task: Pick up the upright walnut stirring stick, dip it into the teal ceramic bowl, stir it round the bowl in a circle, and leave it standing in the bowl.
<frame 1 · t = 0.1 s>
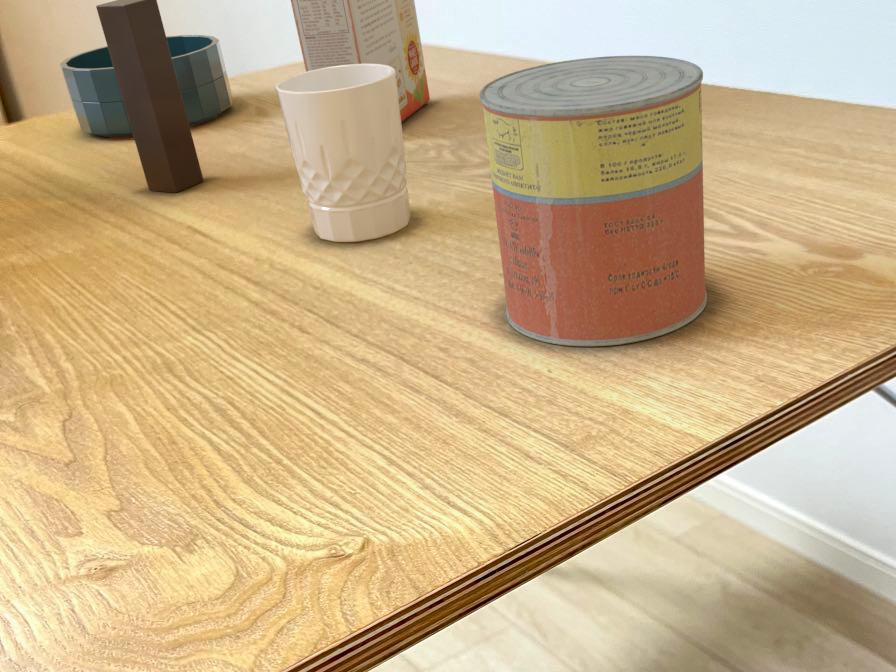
bowl: (158, 119, 116), on the table
canned food: (606, 307, 64), on the table
cracker box: (377, 125, 106), on the table
white cup: (364, 229, 80), on the table
stick: (176, 185, 94), on the table
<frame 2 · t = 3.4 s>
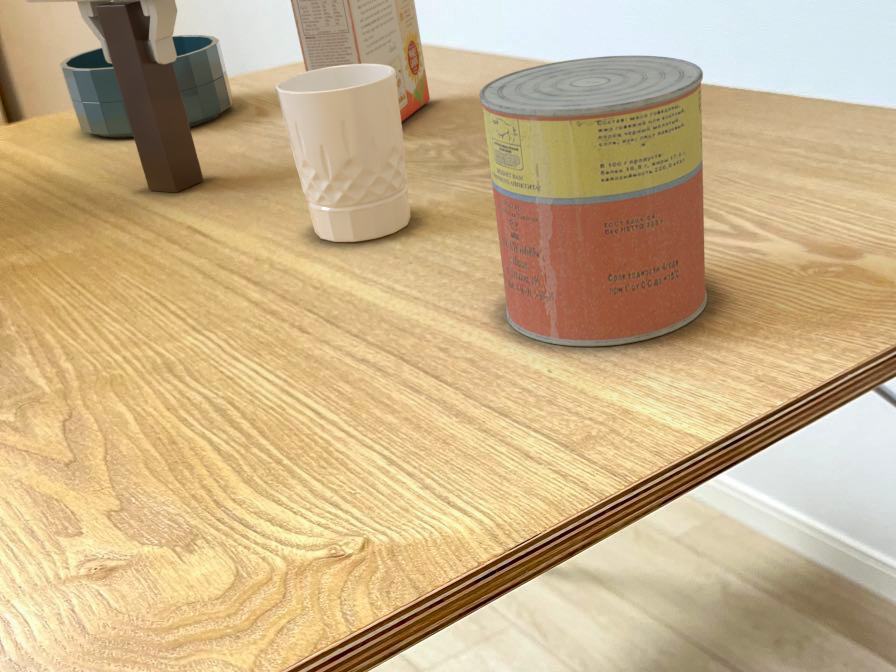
hand: (142, 62, 89), 10 cm above the table, tool pointing down, fingers closed on stick, 3 cm apart
stick: (176, 185, 94), on the table, touching gripper
everything else where it was.
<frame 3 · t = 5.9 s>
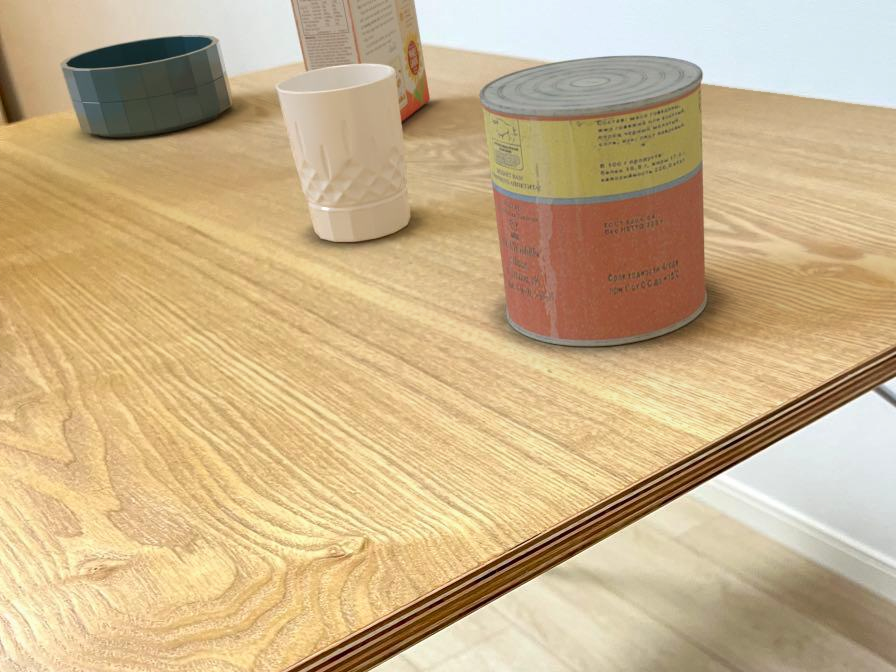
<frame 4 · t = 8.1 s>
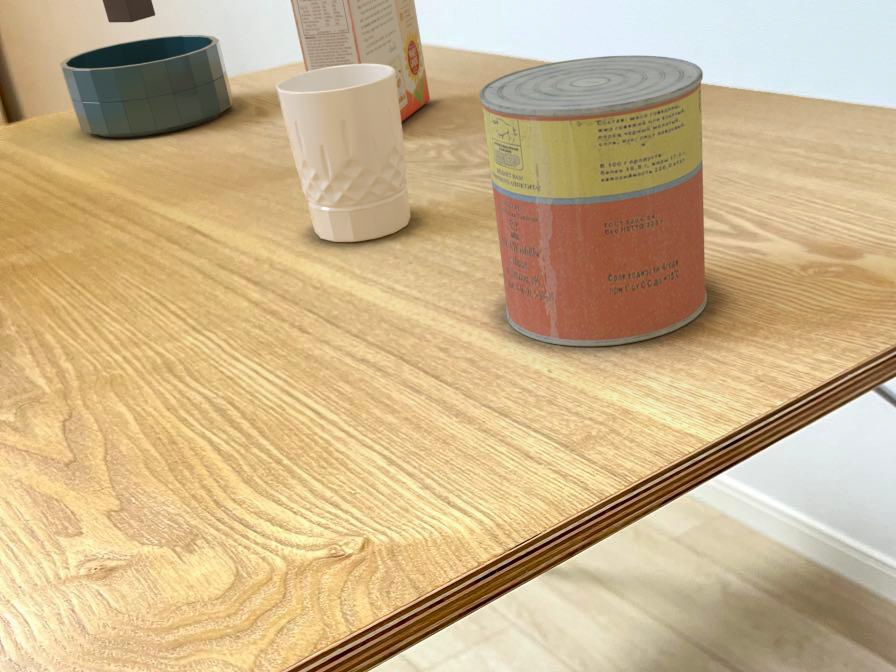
stick: (132, 19, 111), point 9 cm above the table, touching gripper
everything else where it was.
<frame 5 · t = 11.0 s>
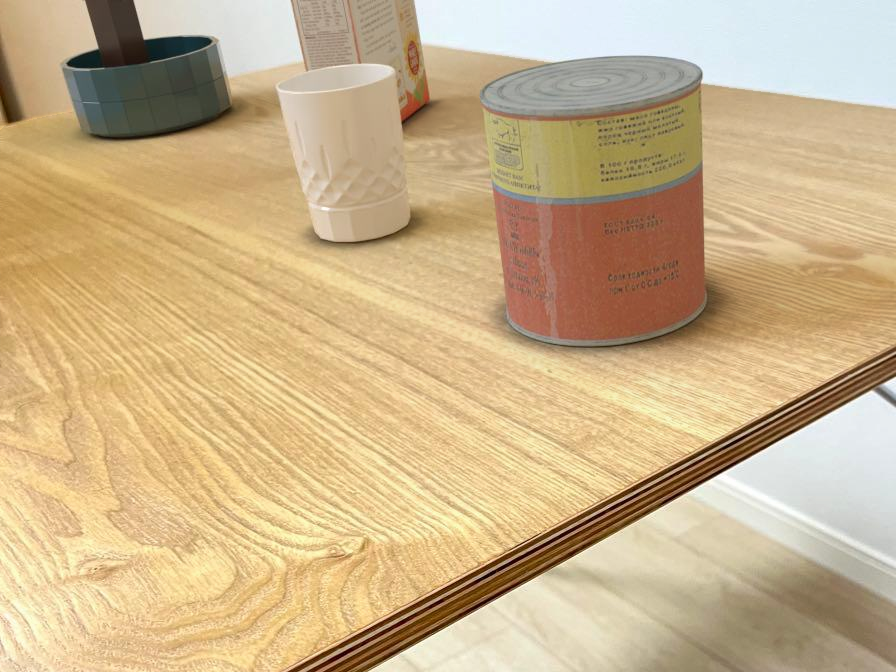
stick: (137, 102, 116), point 2 cm above the table, touching gripper
everything else where it was.
when the fingers open (10 cm above the table, at t = 13.2 s): stick stays where it is, resting on bowl.
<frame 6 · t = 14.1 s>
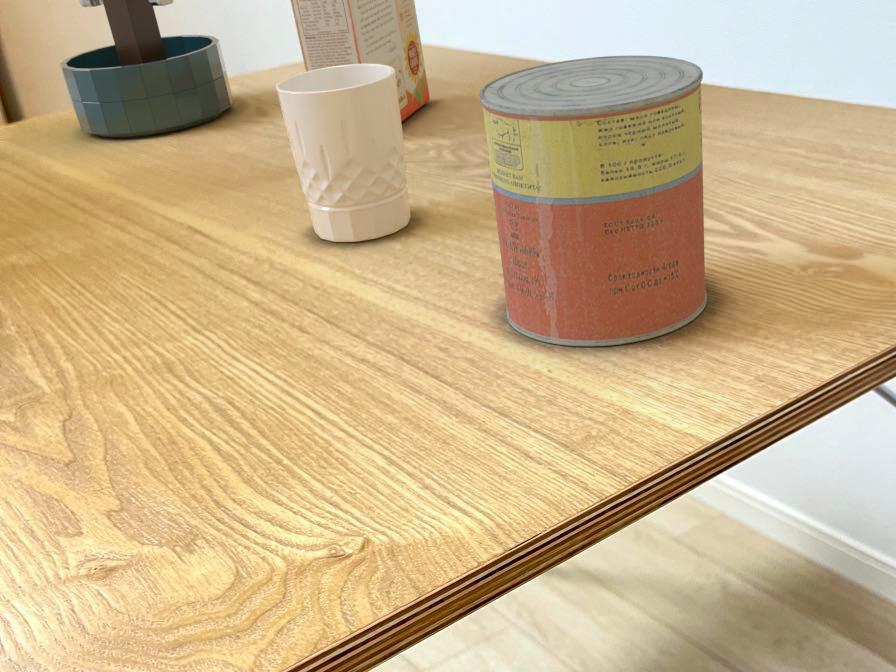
hand: (127, 5, 110), 11 cm above the table, tool pointing down, fingers open, 8 cm apart
stick: (157, 113, 116), point 1 cm above the table, touching bowl
everything else where it was.
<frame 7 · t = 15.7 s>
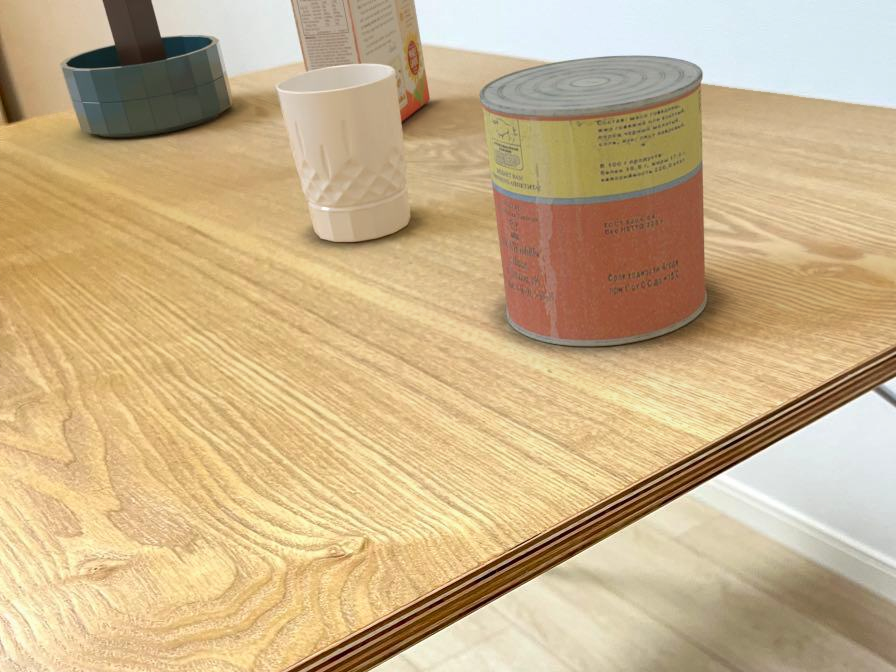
nothing on the table moved.
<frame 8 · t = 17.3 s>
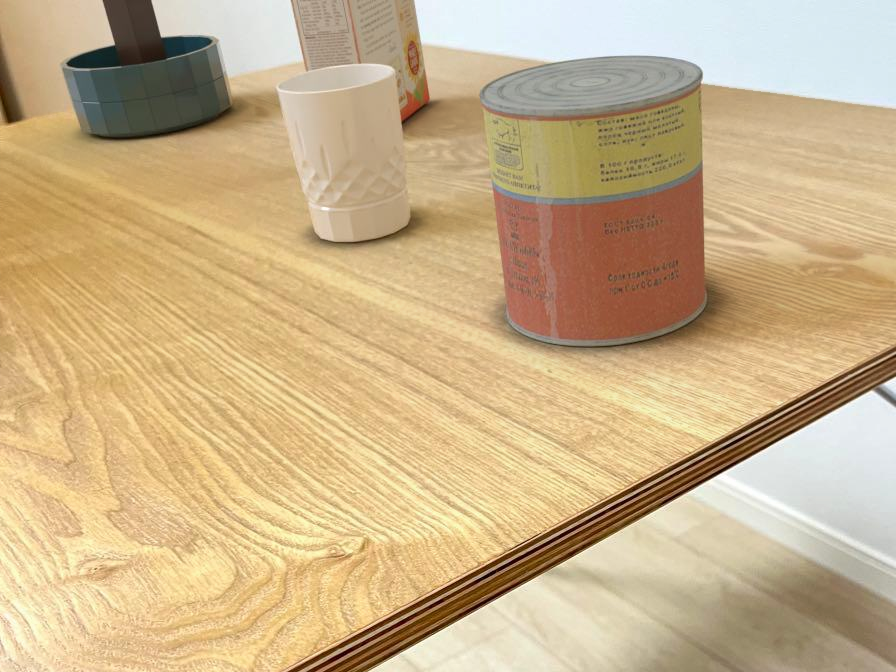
nothing on the table moved.
at the end: stick inside the target area in the bowl (0.1 cm from its centre), point 0.6 cm above the bowl's base; the gripper is holding nothing; stick moved 27.0 cm from its start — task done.
